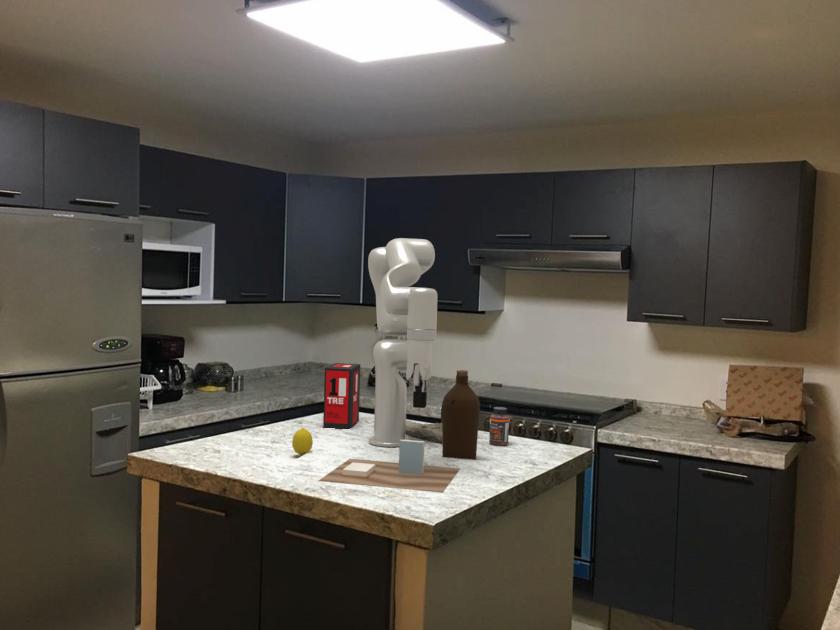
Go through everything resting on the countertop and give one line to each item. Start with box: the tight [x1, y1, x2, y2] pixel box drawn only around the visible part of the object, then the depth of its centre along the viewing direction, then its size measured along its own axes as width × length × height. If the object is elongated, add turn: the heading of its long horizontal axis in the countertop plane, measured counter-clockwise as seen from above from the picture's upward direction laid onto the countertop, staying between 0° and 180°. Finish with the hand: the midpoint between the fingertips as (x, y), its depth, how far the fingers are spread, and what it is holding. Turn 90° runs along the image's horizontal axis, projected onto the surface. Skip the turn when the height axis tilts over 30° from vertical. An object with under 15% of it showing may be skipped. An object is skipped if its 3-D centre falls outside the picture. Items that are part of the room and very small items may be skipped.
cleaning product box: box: [322, 362, 361, 430], centre depth 261 cm, size 16×9×20 cm, turn 174°
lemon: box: [291, 427, 314, 457], centre depth 212 cm, size 6×6×8 cm
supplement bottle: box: [488, 406, 510, 447], centre depth 237 cm, size 6×6×11 cm
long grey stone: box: [405, 419, 443, 444], centre depth 248 cm, size 35×5×10 cm
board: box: [318, 458, 461, 498], centre depth 190 cm, size 24×30×2 cm
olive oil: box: [441, 369, 481, 461], centre depth 214 cm, size 11×11×25 cm
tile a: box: [343, 462, 376, 478], centre depth 190 cm, size 2×6×8 cm
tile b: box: [398, 439, 425, 475], centre depth 192 cm, size 2×6×8 cm, turn 77°
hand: (419, 407), depth 198 cm, fingers closed
